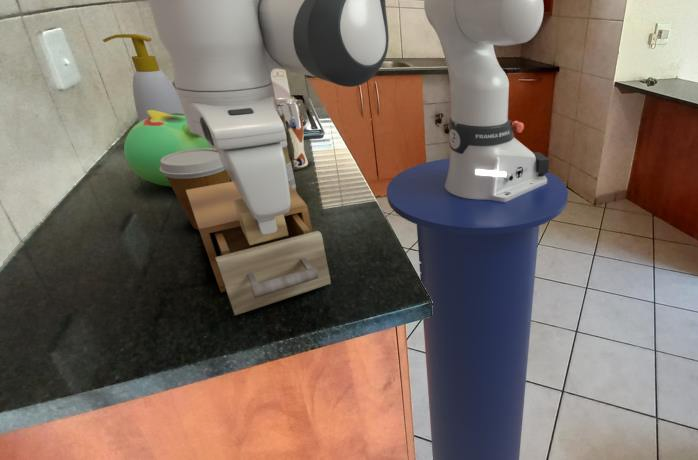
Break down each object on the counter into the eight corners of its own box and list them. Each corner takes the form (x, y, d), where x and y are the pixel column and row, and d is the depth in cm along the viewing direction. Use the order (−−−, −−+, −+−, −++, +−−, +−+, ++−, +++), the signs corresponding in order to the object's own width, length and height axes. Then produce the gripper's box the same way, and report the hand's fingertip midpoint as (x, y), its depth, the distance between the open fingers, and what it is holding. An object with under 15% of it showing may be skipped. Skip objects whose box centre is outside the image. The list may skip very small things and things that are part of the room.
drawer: (343, 300, 56) (333, 248, 52) (242, 336, 49) (223, 280, 45) (302, 243, 68) (292, 197, 64) (217, 265, 61) (200, 217, 57)
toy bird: (162, 169, 95) (137, 101, 88) (247, 165, 99) (230, 100, 92) (122, 202, 79) (88, 124, 72) (224, 195, 84) (202, 121, 77)
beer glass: (308, 170, 98) (295, 104, 91) (275, 171, 96) (259, 104, 89) (312, 160, 104) (301, 97, 97) (281, 161, 102) (267, 97, 95)
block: (279, 222, 57) (272, 192, 55) (288, 235, 54) (281, 204, 52) (242, 231, 54) (233, 200, 52) (249, 245, 51) (240, 213, 49)
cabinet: (318, 263, 65) (307, 205, 60) (220, 292, 57) (198, 229, 53) (291, 225, 75) (279, 173, 70) (205, 246, 67) (185, 189, 63)
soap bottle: (149, 145, 108) (107, 32, 95) (204, 141, 113) (170, 32, 100) (140, 159, 99) (93, 36, 87) (200, 153, 104) (163, 37, 92)
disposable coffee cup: (190, 213, 77) (168, 149, 71) (250, 208, 80) (233, 146, 74) (173, 238, 69) (146, 168, 63) (240, 231, 72) (220, 164, 66)
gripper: (187, 96, 52) (220, 199, 59) (213, 138, 38) (252, 266, 45) (246, 92, 56) (270, 189, 62) (289, 128, 42) (314, 248, 48)
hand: (263, 222), depth 53 cm, fingers closed on block, 4 cm apart
